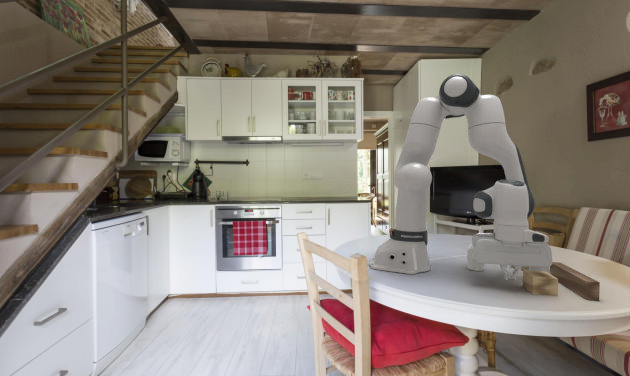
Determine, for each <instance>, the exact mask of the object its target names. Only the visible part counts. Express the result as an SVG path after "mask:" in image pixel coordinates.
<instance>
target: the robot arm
mask: <svg viewBox="0 0 630 376" xmlns="http://www.w3.org/2000/svg"><path fill="white" fill-rule="evenodd" d="M480 92H481V91H480V88H479V87H478V86H477V85H476V83H474V81H473V80H472V79H471V78H470V77H469V76H467V75H466V74H463V73H453V74H451V75H449V76H447V77H446V78H445V79H444V80H443V81H442V83H441V84H440V87H439V92H438V96H436V97H435V96H434V97H432V96H431V97H429V96H428V97H424V98H421V99H420V100H419V101H418V102H417V105H416V106H415V108H414V111H413V113H412V115H411V118H410V121H409V124H408V129H407V132H406V136H405V140H404V143H403V147H402V150H401V152H400V155H399V158H398V160H397V164H396V166H395V169H394V172H393V176H392V180H393V184H394V186H395V187H396V189H397V194H396V195H397V197H396V203H395V204H396V205H395V210H394V211H395V218H394V219H395V220H394V221H395V222H394V223H395V228H389V230H388V232H389V239H387V240H385V242H383V243H382V244H380V245H379V246H378V247H377V248H376V251H375V254H374V257H373V258H370V259H369V262H368V266H369V268H370V269H372V270H378V271H386V272H393V273H401V274H408V275H415V274H418V273H424V272H428V271H430V270H431V269H432V267H431V264H430V260H429V255H428V241H429V233H428V230H427V206H428V202H429V195H430V187H431V184H432V181H433V176H432V172H431V170H430V169H429V168H428V164H429V162H430V160H431V158H432V156H433V154H434V152H435V150H436V147H437V142H438V140H439V136H440V131H441V127H442V124H443V121H444V119H446V120H447V119H453V118H461V117H464V116H465V117H466V120H467V137H468V142H469V145H470V146H471V148H472V149H473V150H474V151H476V152H477V153H478V154H480V155H483V156H485V157H489V158H491V159H493V160H495V161H497V162H498V163H499V164H500V165H501V167H502V169H503V170H504V175H505V179H500V180H497V181H496V182H495V183H494V185H493V186H491V187H489V188H486V189H485V190H480V191H478V192H476V193H475V195H474V196H473V199H472V203H471V206H472V211H473V213H474V214H475V215H476V216H477V217H478V218H480V219H485V220H493V232H477V233H475V234H473V236H472V238H471V239H472V240H471V243H472V244H473V246H474V247H473V254H472V258H473V259H474V261H475V262H477V263H484V265H485V264H488V265H499V267H500V270H501V271H502V273H503V279H504V280H506V281H507V280H511V281H517V280H518V275H519V274H520V272H521V271H522V270H521V266H532V267H547V268H548V267H549V268H550V266H551V265H552V262H553V251H552V248H551V246H550V245H549V244H548V243H549V240H550V238H549V235H546V234H545V233H542V232H539V231H536V230H535V229H534V230H533V229H530V228H529V227H530V226H529V225H530V224H529V221H528V219H529V217H531V216H532V215H533V213H534V212H535V209H536V201H535V198H534V196H533V194H532V192H531V189H530V186H529V182H528V178H527V174H526V171H525V166H524V163H523V159H522V155H521V153H520V149H519V147H518V146H517V144H516V143H514V142H513V141H512V139H511V138H510V135H509V134H508V131H507V125H506V117H505V113H504V112H505V111H504V108H503V104H502V101H501V100H500V97H498V96H497V95H494V94H480ZM511 265H513V267H512V268H514V269H513V270H512V272H507V270H506V269H508V266H511Z"/></svg>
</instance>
